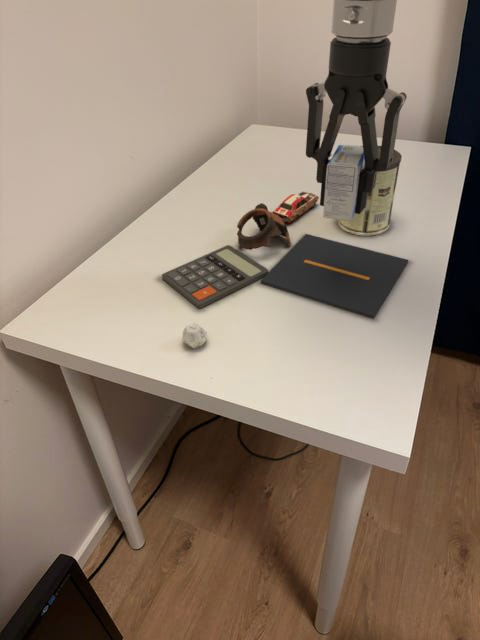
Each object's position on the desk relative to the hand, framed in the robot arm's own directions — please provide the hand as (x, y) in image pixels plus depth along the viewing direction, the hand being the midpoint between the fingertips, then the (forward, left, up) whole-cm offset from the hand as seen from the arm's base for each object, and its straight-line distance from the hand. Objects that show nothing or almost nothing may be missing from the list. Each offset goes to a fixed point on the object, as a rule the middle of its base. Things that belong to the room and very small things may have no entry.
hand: (342, 205), depth 76 cm
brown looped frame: (+16, -4, -13) cm, 21 cm away
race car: (+16, -18, -13) cm, 27 cm away
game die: (+11, +26, -13) cm, 32 cm away
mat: (0, -1, -13) cm, 13 cm away
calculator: (+18, +10, -13) cm, 25 cm away
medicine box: (0, +1, 0) cm, 1 cm away
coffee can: (+2, -20, -13) cm, 24 cm away
